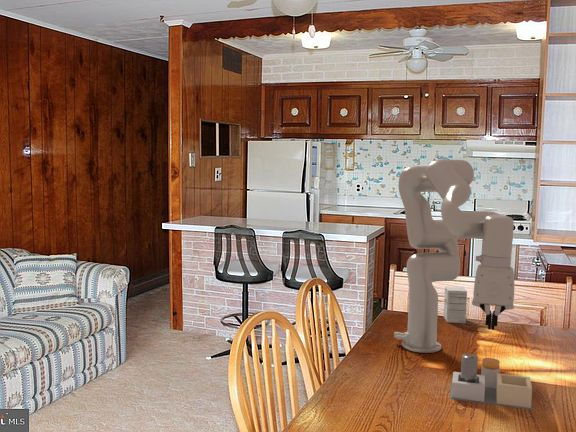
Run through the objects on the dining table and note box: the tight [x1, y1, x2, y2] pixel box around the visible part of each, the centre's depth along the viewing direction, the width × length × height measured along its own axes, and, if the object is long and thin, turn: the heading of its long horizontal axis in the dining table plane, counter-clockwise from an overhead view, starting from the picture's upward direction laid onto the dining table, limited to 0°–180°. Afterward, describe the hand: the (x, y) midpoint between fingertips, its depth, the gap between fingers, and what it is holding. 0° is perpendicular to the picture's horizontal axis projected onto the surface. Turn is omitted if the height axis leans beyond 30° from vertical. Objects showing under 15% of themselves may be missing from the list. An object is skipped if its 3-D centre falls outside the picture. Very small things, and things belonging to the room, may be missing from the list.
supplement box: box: [443, 286, 468, 324], centre depth 229 cm, size 7×7×13 cm
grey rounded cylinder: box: [460, 353, 479, 383], centre depth 154 cm, size 4×4×10 cm
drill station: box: [448, 365, 534, 411], centre depth 156 cm, size 20×16×6 cm
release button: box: [481, 357, 500, 369], centre depth 161 cm, size 4×4×6 cm
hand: (490, 328), depth 160 cm, fingers closed
